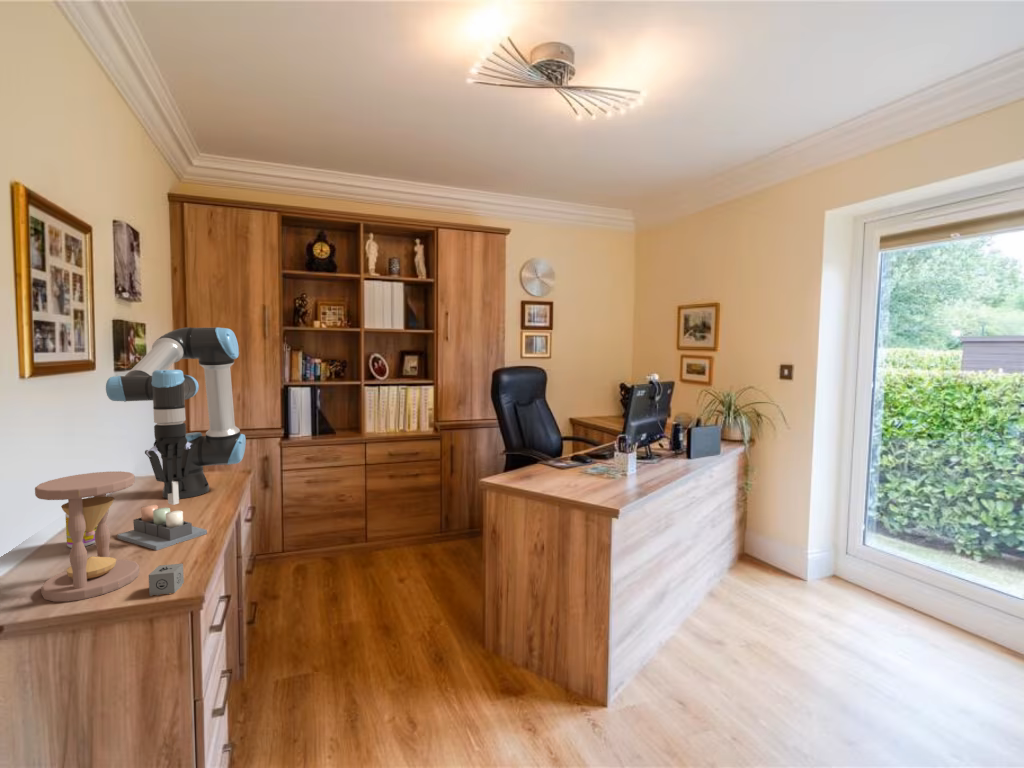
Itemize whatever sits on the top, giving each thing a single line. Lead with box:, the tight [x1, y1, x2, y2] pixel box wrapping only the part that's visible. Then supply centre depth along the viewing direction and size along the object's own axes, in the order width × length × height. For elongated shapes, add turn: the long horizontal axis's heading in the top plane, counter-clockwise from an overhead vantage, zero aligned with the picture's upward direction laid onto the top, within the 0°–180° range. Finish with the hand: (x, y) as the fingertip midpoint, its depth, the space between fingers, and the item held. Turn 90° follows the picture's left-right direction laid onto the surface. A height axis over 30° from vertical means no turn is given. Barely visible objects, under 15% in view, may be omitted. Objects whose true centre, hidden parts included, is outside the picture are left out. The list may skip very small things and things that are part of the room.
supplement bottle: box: [65, 498, 97, 549], centre depth 140 cm, size 7×7×13 cm
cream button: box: [166, 510, 184, 529], centre depth 144 cm, size 4×4×4 cm
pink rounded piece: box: [140, 504, 159, 522], centre depth 149 cm, size 4×4×4 cm
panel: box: [117, 517, 208, 551], centre depth 147 cm, size 14×20×4 cm
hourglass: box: [34, 470, 140, 603], centre depth 116 cm, size 18×18×25 cm
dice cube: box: [148, 562, 185, 597], centre depth 113 cm, size 5×5×5 cm
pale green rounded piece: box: [153, 507, 171, 525], centre depth 147 cm, size 4×4×4 cm
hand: (173, 503), depth 143 cm, fingers closed
